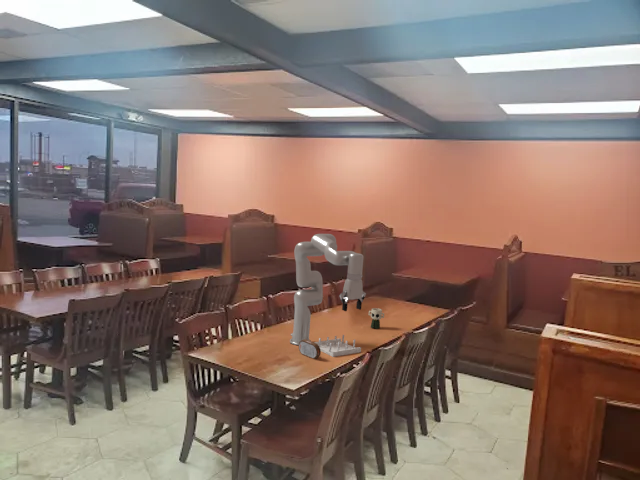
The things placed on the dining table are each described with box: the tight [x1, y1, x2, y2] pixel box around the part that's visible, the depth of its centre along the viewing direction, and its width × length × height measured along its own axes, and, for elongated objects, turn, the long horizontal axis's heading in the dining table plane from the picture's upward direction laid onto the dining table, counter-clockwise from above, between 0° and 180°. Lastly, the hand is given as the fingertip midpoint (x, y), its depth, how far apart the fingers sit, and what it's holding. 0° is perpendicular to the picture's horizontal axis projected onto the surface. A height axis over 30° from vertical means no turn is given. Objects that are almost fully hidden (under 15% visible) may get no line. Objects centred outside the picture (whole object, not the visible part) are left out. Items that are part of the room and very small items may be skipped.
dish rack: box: [313, 334, 362, 358], centre depth 296 cm, size 19×20×6 cm
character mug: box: [368, 307, 385, 330], centre depth 350 cm, size 11×7×13 cm, turn 68°
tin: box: [298, 339, 322, 360], centre depth 280 cm, size 15×3×8 cm, turn 45°
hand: (351, 309), depth 267 cm, fingers open, 9 cm apart
